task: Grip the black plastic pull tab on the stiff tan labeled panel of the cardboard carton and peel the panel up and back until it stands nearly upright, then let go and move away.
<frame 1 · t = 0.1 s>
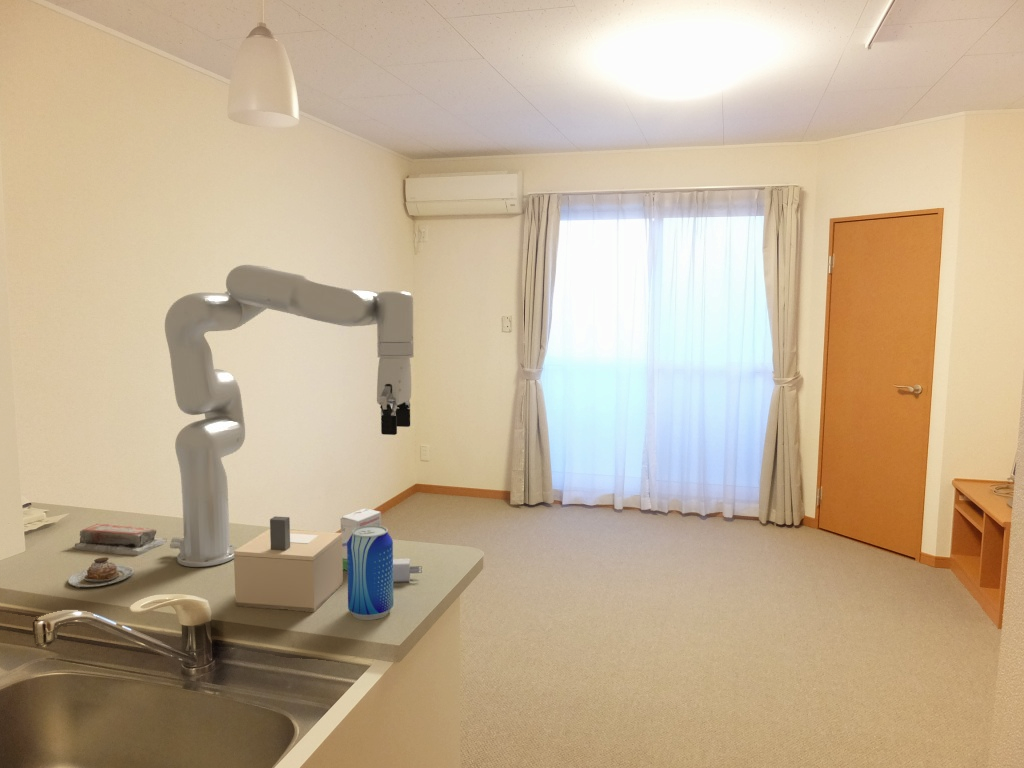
hand: (396, 430, 153), 31 cm above the counter, tool pointing down, fingers open, 9 cm apart
ink box: (361, 566, 160), on the counter
carton: (291, 594, 143), on the counter
packaged product: (121, 548, 171), on the counter
usb wall charger: (405, 580, 152), on the counter
pastry: (101, 581, 151), on the counter
tan labeled panel: (289, 529, 142), point 13 cm above the counter, hinge at 0.0°
beer can: (370, 613, 136), on the counter
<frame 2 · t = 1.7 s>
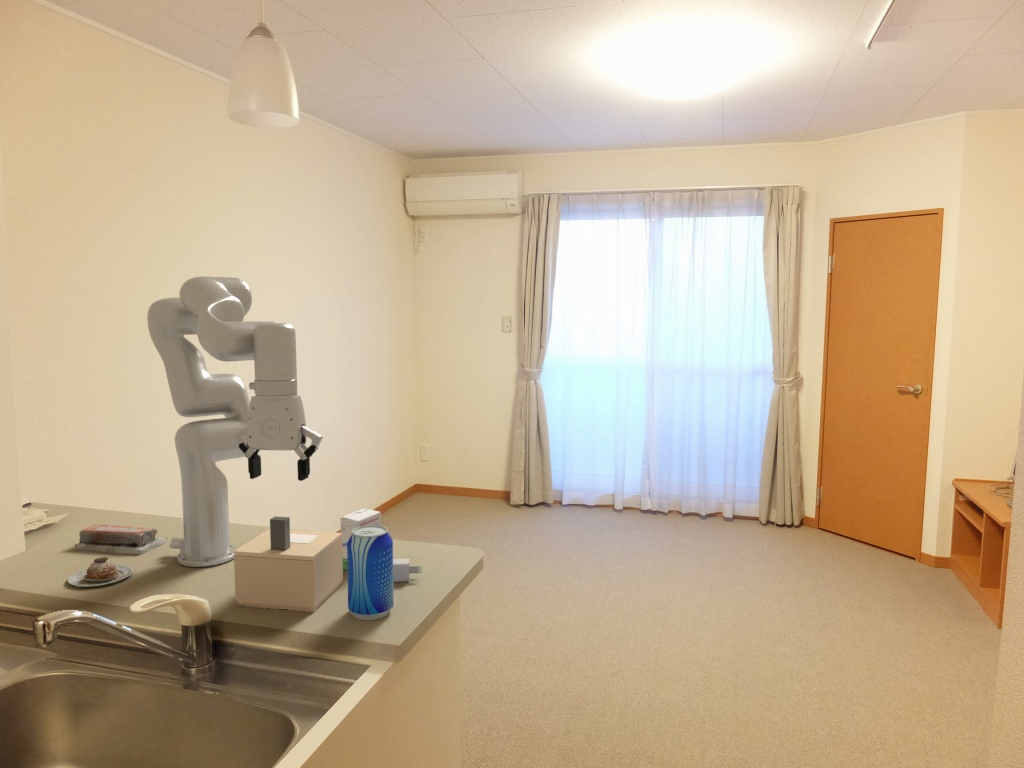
hand: (279, 478, 136), 25 cm above the counter, tool pointing down, fingers open, 9 cm apart
nothing on the counter moved.
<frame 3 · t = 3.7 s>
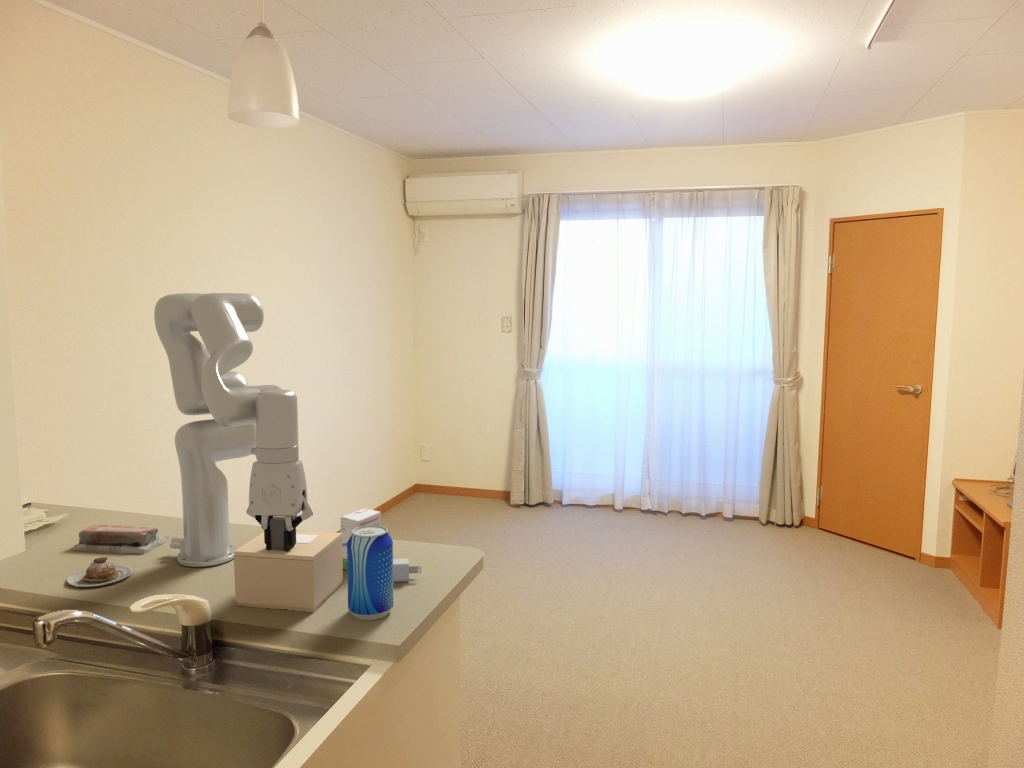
hand: (280, 547, 138), 11 cm above the counter, tool pointing down, fingers closed on tan labeled panel, 3 cm apart
tan labeled panel: (289, 529, 142), point 13 cm above the counter, hinge at 0.0°, touching gripper
everything else where it was.
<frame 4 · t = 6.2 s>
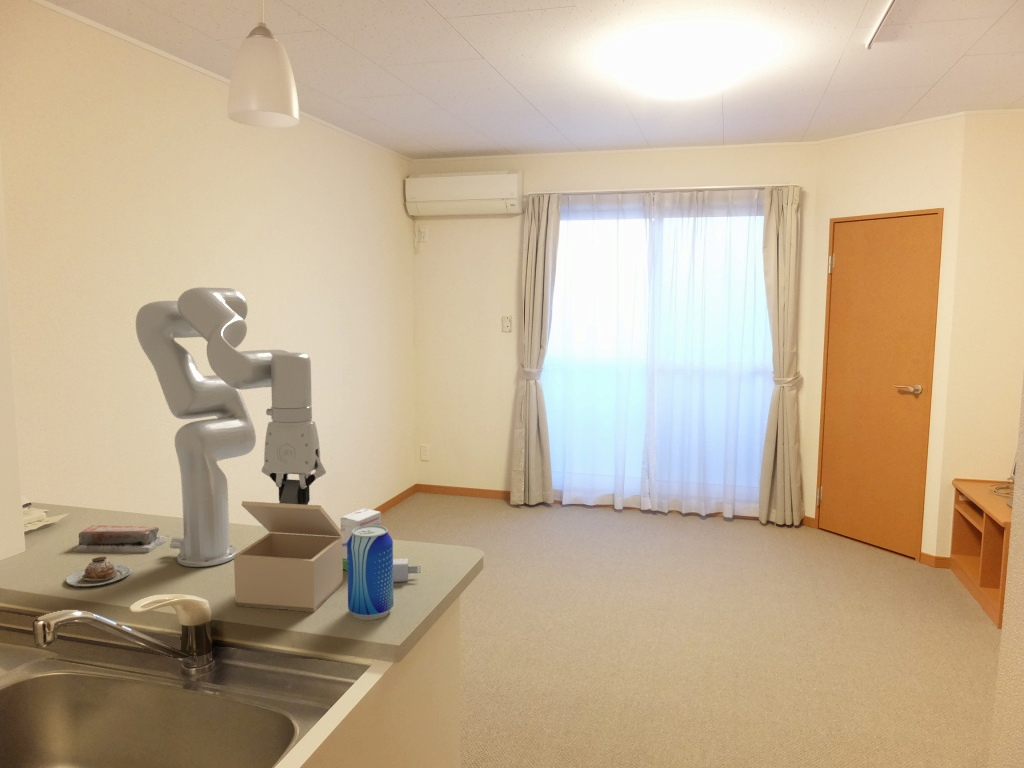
hand: (294, 504, 144), 18 cm above the counter, tool pointing down, fingers closed on tan labeled panel, 3 cm apart
tan labeled panel: (297, 505, 145), point 17 cm above the counter, hinge at 39.7°, touching gripper
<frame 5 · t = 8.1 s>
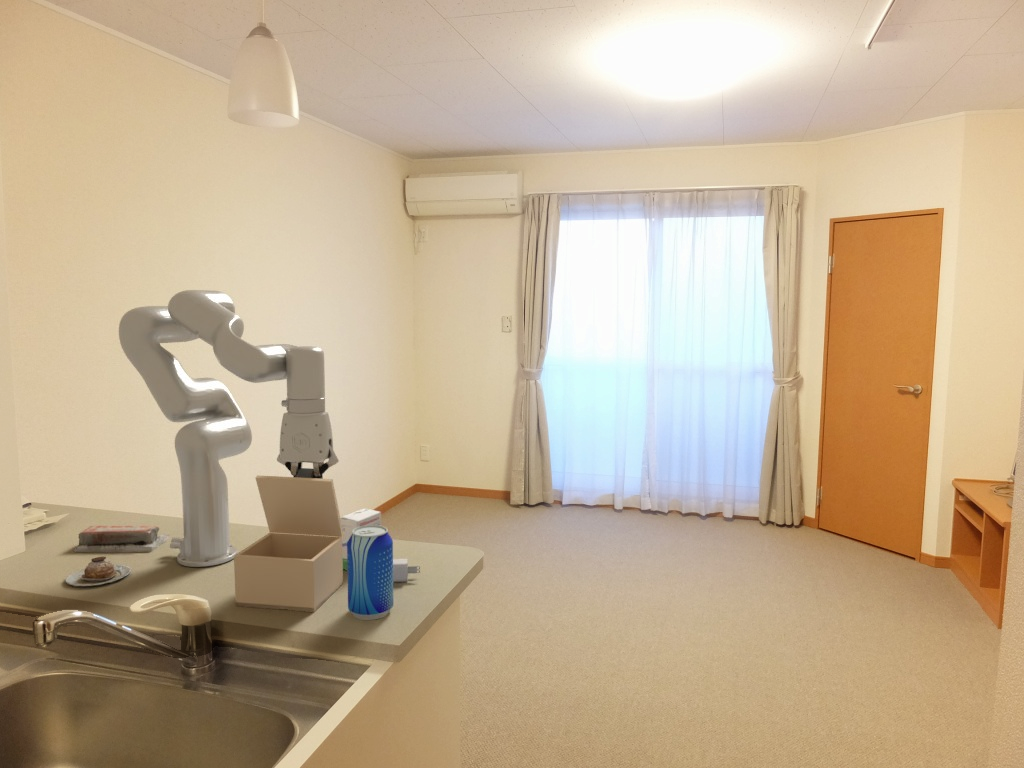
hand: (308, 492, 150), 19 cm above the counter, tool pointing down, fingers closed on tan labeled panel, 3 cm apart
tan labeled panel: (306, 497, 149), point 18 cm above the counter, hinge at 68.3°, touching gripper
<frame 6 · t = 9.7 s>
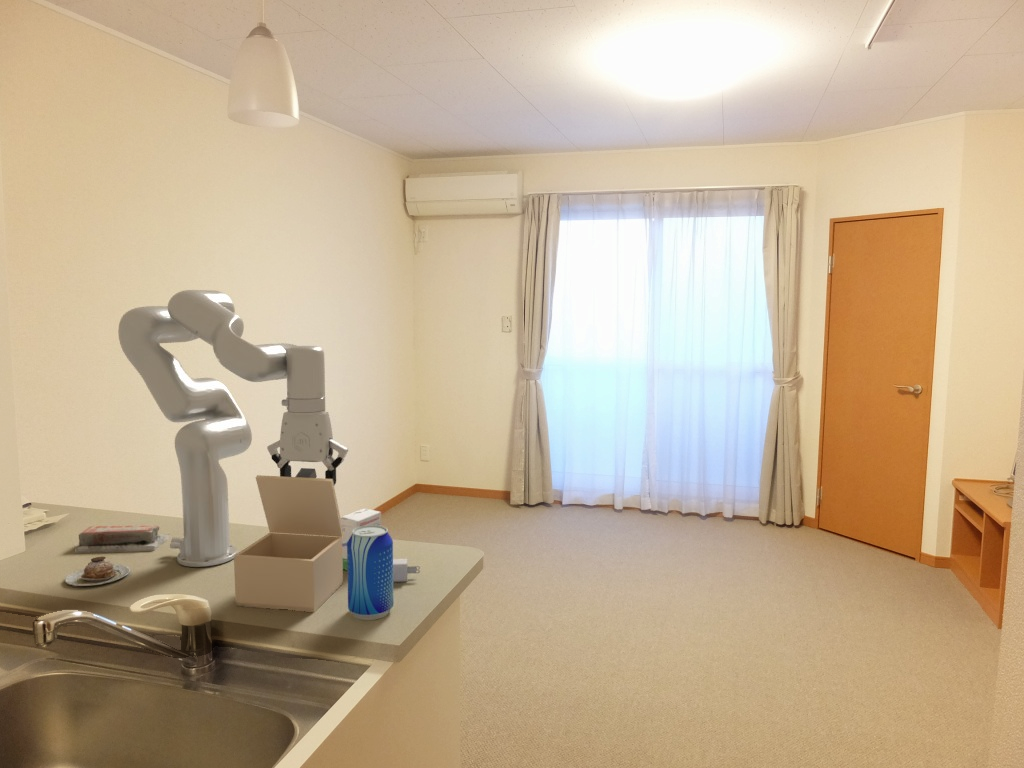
hand: (308, 486, 150), 20 cm above the counter, tool pointing down, fingers open, 9 cm apart
tan labeled panel: (306, 497, 149), point 18 cm above the counter, hinge at 68.5°
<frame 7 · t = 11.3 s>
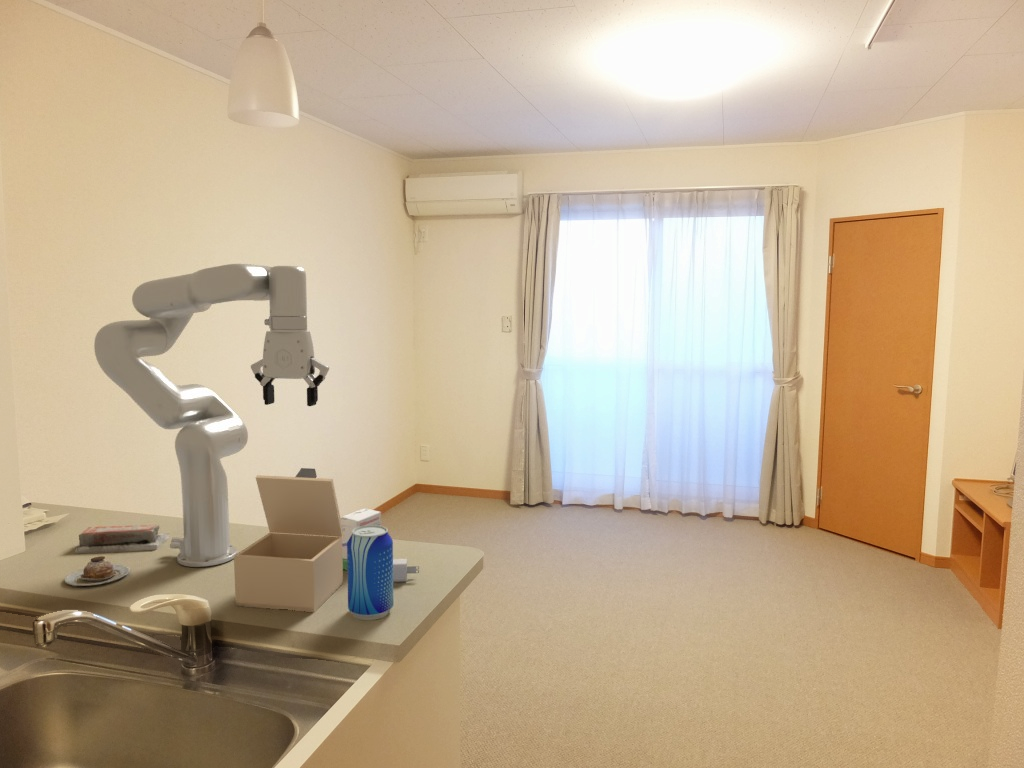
hand: (290, 404, 154), 36 cm above the counter, tool pointing down, fingers open, 9 cm apart
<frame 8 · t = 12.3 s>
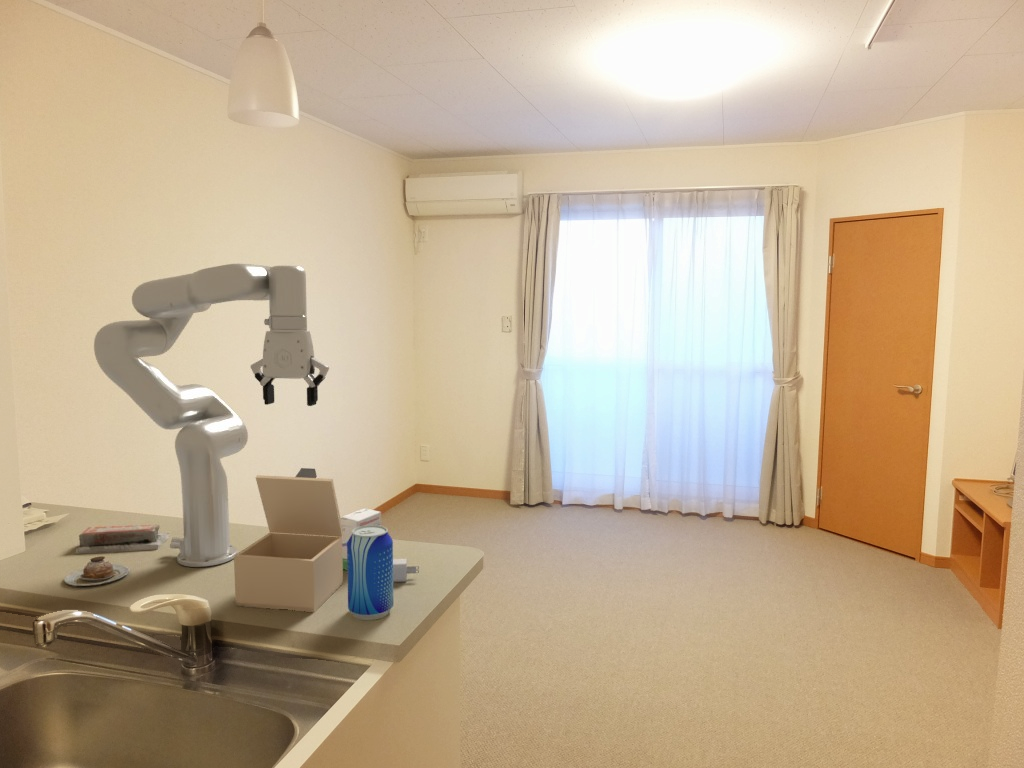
hand: (290, 404, 154), 36 cm above the counter, tool pointing down, fingers open, 9 cm apart
at the end: tan labeled panel at +68° (first picture: +0°); the gripper is holding nothing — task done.
